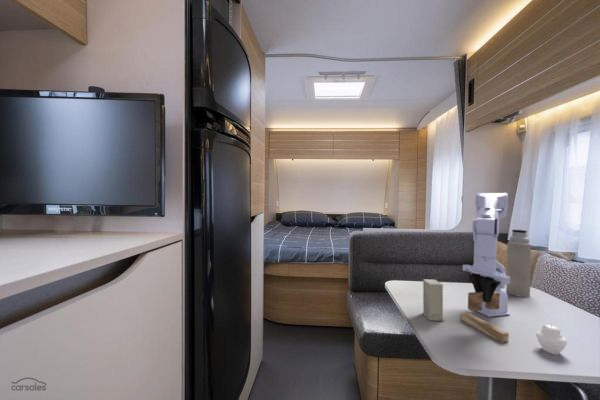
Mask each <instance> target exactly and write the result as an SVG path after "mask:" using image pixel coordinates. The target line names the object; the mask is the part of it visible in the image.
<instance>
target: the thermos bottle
mask: <svg viewBox="0 0 600 400" xmlns="http://www.w3.org/2000/svg"><path fill="white" fill-rule="evenodd" d="M511 231H512V235H510V236H509V239H508V242H507V250H506V251H507V252H506V253H507V254H506V257H507V259H506V276H508V277H510V284H506V285H505V288H506V289H505V291H506V293H507V294H509V295H512V296H515V297H521V298H529V297H530V296H531V267H532V266H531V265H532V243H530V238H529V237H527V235H528V234H527V232H528V231H527V230H525V229H512V230H511Z"/></svg>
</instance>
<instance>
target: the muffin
mask: <svg viewBox="0 0 600 400" xmlns="http://www.w3.org/2000/svg"><path fill="white" fill-rule="evenodd" d="M535 336H536V338H537V341H538V343H539V345H540V346H541V349H542V350H543V351H545V352H546V353H548V354H552V355H559V354H561V353H562V351H563V350H564V349H565V348H566V346H567V345H568V341H567V339H566V338H565V337H564V336H563V335H562V333H561V330H560V329H559V328H558V327H556V326H554V325H552V324H551V325H550V324H545V325H542V328H541V329H539V330H537V331H536V332H535Z"/></svg>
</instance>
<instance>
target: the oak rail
mask: <svg viewBox="0 0 600 400" xmlns="http://www.w3.org/2000/svg"><path fill="white" fill-rule="evenodd" d="M462 320H463V321H462ZM461 321H462V322H464V323H466V324H468V325H470V326H471V325H472V327H473V326H474V327H473V328H475V327H476V328H475V329H476V330H478V331H480V330H481V331H480V332H482V331H483V334H486V335H488V336H490V337H491V338H494V339H495V340H497V341H499V342H501V343H509V337H510V336H509V335H510V334H509V332H507V331H506V330H504V329H501V328H499V327H498V326H497V325H496V326H495V325H494V324H492V323H489V322H487V321H485V320H484V319H481V318H479V317H478V316H476V315H474V314H472V313H469V311H468V312H467V311H465V312H462V313H461Z"/></svg>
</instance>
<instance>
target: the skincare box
mask: <svg viewBox="0 0 600 400" xmlns="http://www.w3.org/2000/svg"><path fill="white" fill-rule="evenodd" d="M422 282H423V285H422V286H423V287H422V288H423V289H422V290H423V291H422V292H423V293H422V295H423V296H422V297H423V298H422V299H423V300H422V301H423V302H422V303H423V305H422V306H423V307H422V311H423V314H424V316H425V317H426V318H427V319H428V320H429V321H433V322H434V321H436V322H437V321H438V322H442V321H444V318H443V317H444V315H443V314H444V313H443V312H444V311H443V310H444V309H443V308H444V307H443V303H444V302H443V301H444V299H443V298H444V297H443V296H444V295H443V291H444V289H443V288H444V287H443V286H444V285H443V283H441V282H440V281H439V280H437V279H431V278H430V279H429V278H428V279H425V278H423V279H422Z"/></svg>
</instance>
